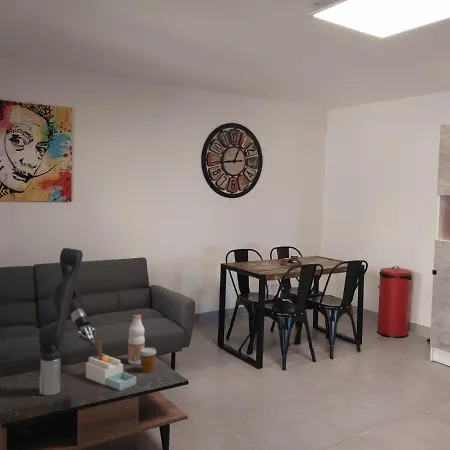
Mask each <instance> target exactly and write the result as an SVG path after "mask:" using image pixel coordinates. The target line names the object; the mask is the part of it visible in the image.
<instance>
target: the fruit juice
mask: <svg viewBox="0 0 450 450" xmlns="http://www.w3.org/2000/svg"><path fill="white" fill-rule="evenodd" d="M142 322H143V321H142V315H141V314H134V315H132V323H131V324H130V327H129V328H128V334H129V336H128V340H127V341H128V345H127V347H128V348H127V349H128V351H127V353H128V356H127V362H128V364H130V365H135V366H137V365H141V358H140V353H139V352H140V350H141V349H142V348H146V347H145V346H146V345H145V342H146V341H145V333H146V332H145V327H144V325H143V323H142Z"/></svg>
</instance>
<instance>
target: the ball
mask: <svg viewBox="0 0 450 450" xmlns="http://www.w3.org/2000/svg"><path fill="white" fill-rule="evenodd" d="M107 356H108V355H107ZM107 356H103V357H102V358H101V361H103V362H106V363H107V362H108V357H107Z"/></svg>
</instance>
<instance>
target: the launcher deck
mask: <svg viewBox="0 0 450 450" xmlns="http://www.w3.org/2000/svg"><path fill="white" fill-rule="evenodd" d="M102 354H103V355H106V354H105V353H102ZM93 356H94V355H93ZM93 356H88V361H87V362H85V378H87V379H89V380H91V381H94V382H96V383H99V384H102V386H107V385H106V377H109V376H112V375H115V374H117V373H120V372H124V364H123V363H121V359H118V358H115V357H112V356H110V355H106V356H107V357H108V362H107V363H106V362H103V361H100V360H98V359H95V358H93Z"/></svg>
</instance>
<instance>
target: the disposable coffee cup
mask: <svg viewBox="0 0 450 450" xmlns="http://www.w3.org/2000/svg"><path fill="white" fill-rule="evenodd" d="M139 353H140V358H141V364H140V366H141V372H143V373H146V374H149V373H153V372H154V369H155V362H156V361H155V360H156V355H157V349H156V348H155V347H145V348H142V349H141V350H140V352H139Z"/></svg>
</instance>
